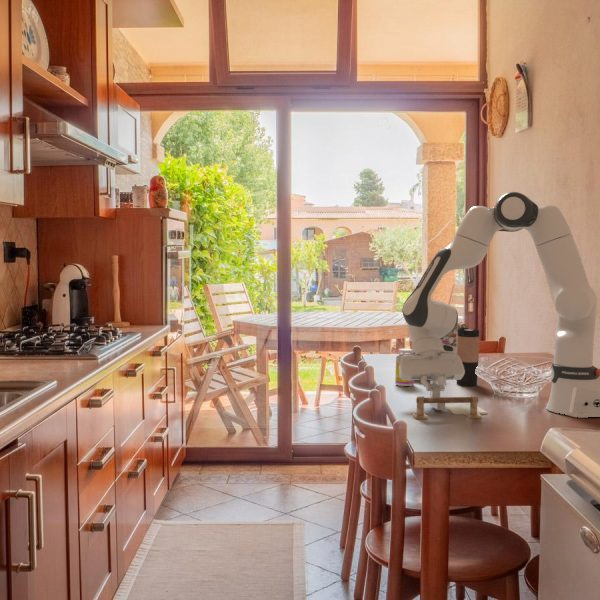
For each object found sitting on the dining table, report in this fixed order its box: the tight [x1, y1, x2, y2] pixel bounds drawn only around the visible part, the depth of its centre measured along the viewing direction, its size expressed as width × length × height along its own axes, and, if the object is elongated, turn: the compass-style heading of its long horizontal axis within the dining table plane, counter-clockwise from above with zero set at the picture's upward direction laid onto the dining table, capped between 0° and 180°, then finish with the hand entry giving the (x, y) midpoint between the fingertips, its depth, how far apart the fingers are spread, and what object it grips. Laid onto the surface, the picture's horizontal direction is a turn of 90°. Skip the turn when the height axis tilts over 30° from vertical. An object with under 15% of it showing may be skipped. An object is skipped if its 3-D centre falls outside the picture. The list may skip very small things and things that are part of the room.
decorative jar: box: [439, 321, 468, 354], centre depth 321 cm, size 12×12×18 cm
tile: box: [445, 404, 488, 416], centre depth 220 cm, size 10×10×1 cm
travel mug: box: [456, 327, 480, 387], centre depth 260 cm, size 8×8×20 cm
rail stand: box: [411, 395, 483, 420], centre depth 211 cm, size 20×4×6 cm, turn 97°
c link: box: [429, 372, 447, 411], centre depth 220 cm, size 2×7×10 cm, turn 7°
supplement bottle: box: [394, 348, 415, 387], centre depth 258 cm, size 7×7×13 cm
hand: (435, 390), depth 222 cm, fingers closed on c link, 2 cm apart
